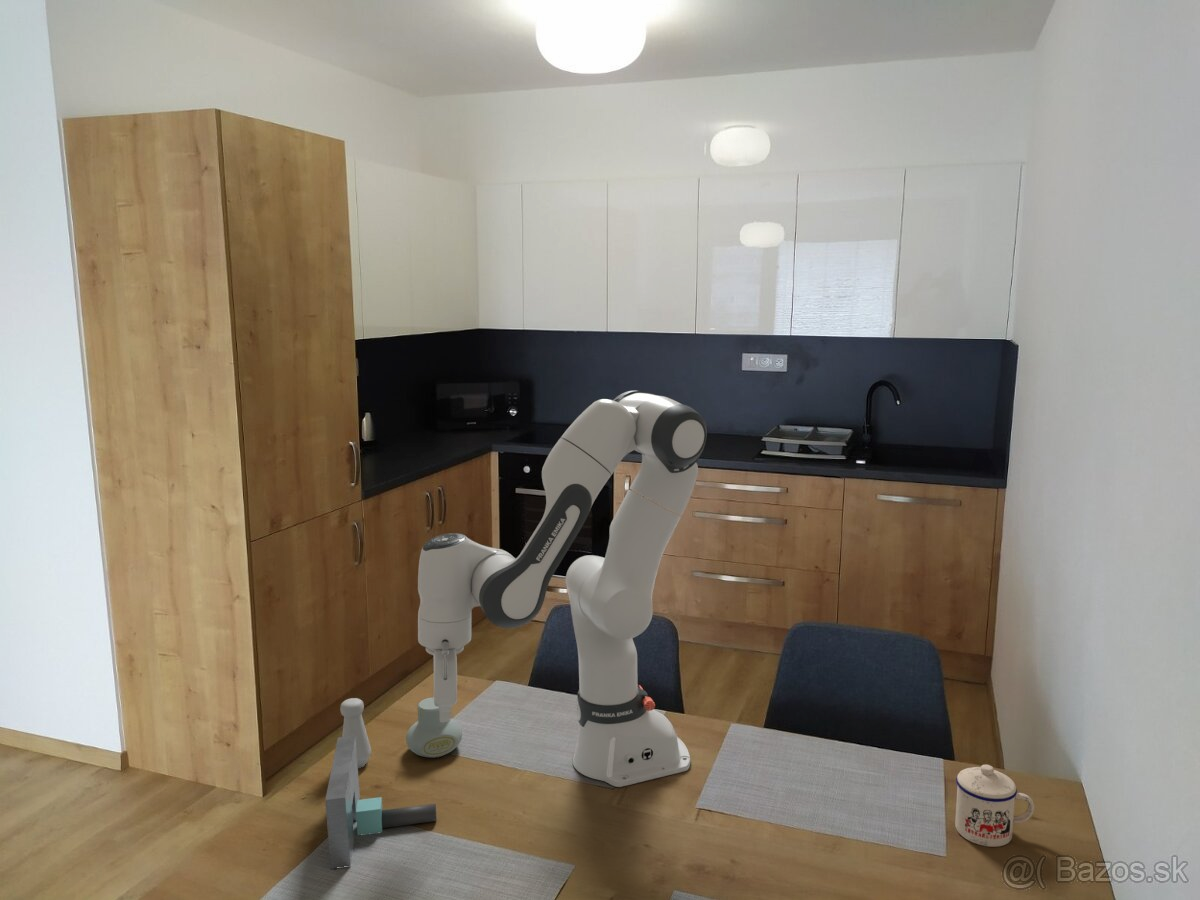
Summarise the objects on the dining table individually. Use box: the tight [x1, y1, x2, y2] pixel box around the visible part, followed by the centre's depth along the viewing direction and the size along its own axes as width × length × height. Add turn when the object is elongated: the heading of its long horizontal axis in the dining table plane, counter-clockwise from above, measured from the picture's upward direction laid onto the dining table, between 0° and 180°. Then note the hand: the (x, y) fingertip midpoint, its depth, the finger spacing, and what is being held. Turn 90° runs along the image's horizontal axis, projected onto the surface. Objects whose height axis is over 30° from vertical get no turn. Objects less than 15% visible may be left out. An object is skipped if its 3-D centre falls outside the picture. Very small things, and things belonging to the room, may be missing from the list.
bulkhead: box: [324, 736, 361, 869], centre depth 147 cm, size 3×20×12 cm, turn 11°
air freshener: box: [405, 696, 463, 759], centre depth 173 cm, size 11×8×10 cm
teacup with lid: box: [954, 764, 1035, 848], centre depth 143 cm, size 12×9×12 cm
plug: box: [356, 796, 437, 836], centre depth 149 cm, size 13×4×4 cm, turn 101°
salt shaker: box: [339, 697, 372, 769], centre depth 168 cm, size 6×6×13 cm
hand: (444, 707), depth 149 cm, fingers open, 8 cm apart
